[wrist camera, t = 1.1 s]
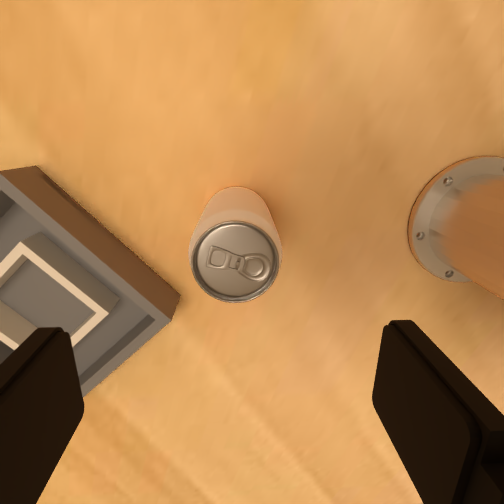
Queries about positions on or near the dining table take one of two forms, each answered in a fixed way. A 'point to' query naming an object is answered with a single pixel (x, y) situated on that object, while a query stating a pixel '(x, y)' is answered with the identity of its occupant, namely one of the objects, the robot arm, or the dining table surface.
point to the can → (235, 246)
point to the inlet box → (72, 278)
